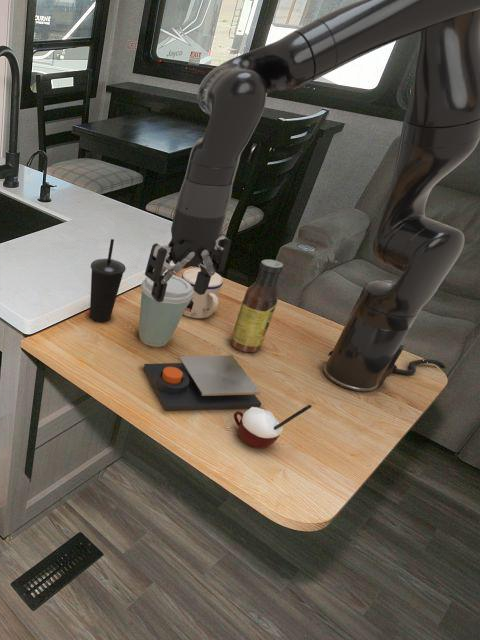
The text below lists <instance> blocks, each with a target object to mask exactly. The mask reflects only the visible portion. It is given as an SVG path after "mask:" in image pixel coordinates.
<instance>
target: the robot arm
mask: <svg viewBox="0 0 480 640" xmlns="http://www.w3.org/2000/svg"><path fill="white" fill-rule="evenodd" d="M419 32H420V33H419ZM416 33H419V42H418V49H417V55H416V59H415V65H414V69H413V76H412V82H411V87H410V93H409V98H408V102H407V108H406V110H405V114H404V118H403V123H402V128H401V133H400V138H399V145H398V151H397V157H396V162H395V166H394V171H393V175H392V179H391V182H390V183H391V184H390V187H389V190H388V195H387V198H386V201H385V203H384V207H383V210H382V213H381V215H380V218H379V221H378V224H377V227H376V228H377V229H376V231H375V234H374V237H373V243H372V250H373V254H374V256H375V258H376V259H378V260H379V261H380V262H382V263H383V264H386V265H387V266H389V267H391V268H393V269H396V270H397V271H399V272H401V273H402V274H401V276H400V277H399V279H397V280H390V279H378V280H372V281H370V282H367V283H366V284H365V285H364V287H363V288H362V290H361V292H360V294H359V296H358V298H357V300H356V302H355V304H354V307H353V308H352V311H351V313H350V314H349V316H348V319H347V320H346V323H345V324H344V327H343V329H342V331H341V333H340V335H339V337H338V339H337V341H336V343H335V345H334V347H333V349H332V350H330V351H329V353H328V355H327V357H328V360H327V362H326V363H325V365H324V366H323V373H324V375H325V376H326V377H327V379H329V380H330V381H331V382H333V383H335V384H336V385H338V386H340V387H342V388H345V389H348V390H350V391H354V392H355V391H357V392H365V393H366V392H372V391H374V390H376V389H377V388H378V387H382V386H383V384H384V383H385V381H386V380H387V378H388V377H390V376H391V374H392V372H393V373H396V374H399V375H413V374H415V373H416V371H417V369H416V367H415V366H416V365H423V364H431V365H436V366H438V367H439V368H441V369H446V368H447V367H446V365H445V363H443V362H442V361H439V360H436V359H430V358H429V359H427V358H424V359H423V358H422V359H416V360H413V361H410V362H409V363H408V368H409V369H400V368H398V366H397V365H396V362H397V361H398V359H399V357H400V355H401V354H402V352H403V351H404V345H403V344H402V343H403V341H404V340H405V338H406V336H407V334H408V333H409V331H410V329H411V327H412V325H413V324H414V322H415V320H416V319H417V317H418V315H419V314H420V312H421V311H422V309H423V307H424V306H425V305H427V303H428V302H429V301H430V300H431V299H432V298H433V296H434V295H435V293H436V292H437V291H438V289H439V287H440V285H441V284H442V283H443V281H444V279H445V278H446V276H447V275H448V274H449V272H450V271H451V269H452V268H453V266H454V265H455V264H456V262H457V260H458V259H459V258H460V255H461V253H462V251H463V250H464V249H463V248H464V245H465V235H464V233H463V232H462V231H461V230H460V229H458V228H455V227H453V226H451V225H448V224H446V223H443V222H440V221H438V220H435V219H432V218H430V217H427V216H426V213H425V210H426V206H427V205H426V204H427V201H428V199H429V195H430V193H431V192H432V189H433V188H434V187H435V186H436V185H437V184H438V183H439V182H440V181H442V179H444V178H445V177H446V176H447V175H448V174H450V173H451V172H452V171H454V169H456V168H457V167H459V165H461V164H462V163H463V162H464V161H465V160H466V159H467V158H468V157H469V156H470V155H471V154H472V153H473V152H474V151H475V149H476V147H477V146H478V144H479V142H480V0H358V1H357V0H356V1H355V2H352V3H349V4H347V5H344V6H342V7H339V8H336V9H334V10H332V11H330V12H328V13H325V14H323V15H322V16H319V17H317V18H315V19H314V20H313V21H311V22H309V23H307V24H305V25H303V26H301V27H300V28H297V29H296V30H294V31H292V32H290V33H288V34H286V35H285V36H283V37H282V38H280V39H278V40H276V41H274V42H272V43H268V44H265V45H263V46H260V47H257V48H255V49H252V50H250V51H247V52H245V53H243V54H240V55H238V56H235V57H232V58H230V59H228V60H227V61H224V62H222V63H221V64H219V65H217V66H216V67H214V68H213V69H212V70H211V71H209V73H207V75H205V76H204V78H203V79H202V81H201V82H200V84H199V86H198V89H197V96H196V99H197V103H198V106H199V108H200V109H201V111H202V112H204V113H205V114H206V115H208V116H209V120H208V123H207V127H206V129H205V131H204V132H205V133H204V135H203V137H200V138H198V139H197V140H196V141H195V142H194V144H193V146H192V147H191V150H190V153H189V157H188V162H187V167H186V171H185V175H184V179H183V182H182V184H181V186H180V190H179V193H178V197H177V201H176V205H175V210H174V215H173V219H172V223H171V226H170V227H171V228H170V232H171V240H170V241H169V243H168V244H164V245H161V244H159V243H157V242H156V243H153V244H152V246H151V248H150V253H149V257H148V261H147V264H146V267H145V272H144V275H145V277H148V278H149V279H151V280H152V281H153V282H154V283H153V289H152V292H151V295H152V296H153V298H154V299H155V300H156V301H157V302H163V300H164V296H165V292H166V288H167V282H168V280H169V279H170V278H171V277H172V276H173V275H174V276H177V274H178V273H180V272H181V270H183V269H189V268H190V267H193V268H197V267H198V268H200V270H201V271H200V272H198V275H197V278H196V282H195V285H194V291H195V292H196V293H198V294H199V295H203V294H205V292H206V290H207V289H208V286H209V283H210V279H211V276H213V275H214V274H215V272H216V273H217V272H223V271H224V270H225V268H226V263H227V261H228V256H229V253H230V250H231V249H230V248H231V244H232V240H231V239H229V238H228V237H226V236H225V235H222V230H223V226H224V223H225V220H226V216H227V213H228V208H229V205H230V202H231V198H232V194H233V186H234V182H235V179H236V175H237V172H238V168H239V165H240V160H241V156H242V154H243V152H244V150H245V148H246V146H247V145H248V143H249V142H250V140H251V137H252V136H253V134H254V132H255V130H256V128H257V126H258V124H259V122H260V120H261V118H262V115H263V113H264V110H265V107H266V103H267V97H268V94H270V93H273V92H279V91H293V90H296V89H299V88H301V87H303V86H306V85H308V84H309V83H311V82H313V81H315V80H318V79H319V78H321V77H324V76H325V75H327V74H329V73H331V72H333V71H336V70H338V69H339V68H341V67H343V66H345V65H347V64H349V63H351V62H353V61H355V60H357V59H360V58H361V57H364V56H365V55H367V54H369V53H372V52H374V51H376V50H378V49H380V48H383V47H385V46H387V45H390V44H392V43H394V42H396V41H399V40H401V39H403V38H406V37H409V36H411V35H414V34H416ZM210 254H211V255H210ZM171 262H172V263H173V264H174V265H171ZM162 274H164V275H162ZM423 360H424V361H423ZM427 362H428V363H427Z"/></svg>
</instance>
